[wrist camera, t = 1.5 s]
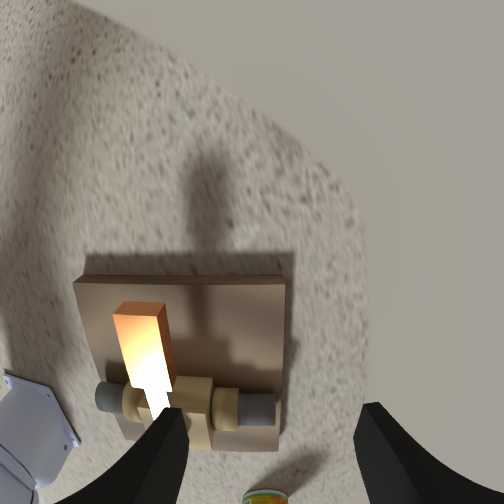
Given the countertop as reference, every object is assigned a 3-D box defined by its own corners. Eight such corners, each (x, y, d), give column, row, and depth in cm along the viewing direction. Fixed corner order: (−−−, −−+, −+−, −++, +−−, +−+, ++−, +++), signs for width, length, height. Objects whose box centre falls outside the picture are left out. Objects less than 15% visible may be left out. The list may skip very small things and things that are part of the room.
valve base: (277, 439, 24) (279, 483, 19) (129, 428, 24) (113, 467, 19) (283, 274, 19) (291, 313, 14) (83, 274, 20) (43, 305, 15)
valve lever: (193, 441, 17) (189, 457, 16) (161, 438, 17) (156, 453, 16) (165, 302, 14) (156, 316, 13) (123, 301, 14) (112, 314, 13)
